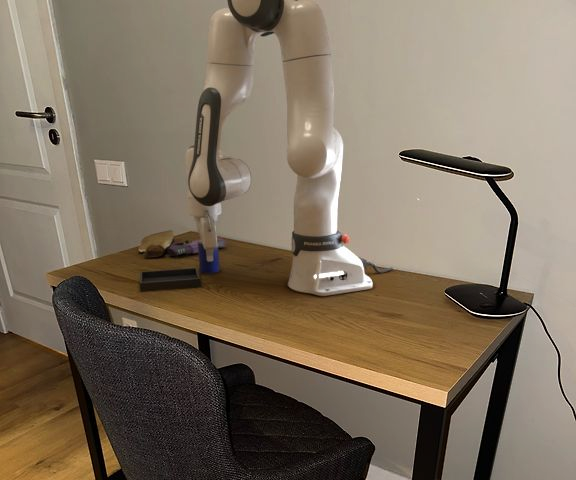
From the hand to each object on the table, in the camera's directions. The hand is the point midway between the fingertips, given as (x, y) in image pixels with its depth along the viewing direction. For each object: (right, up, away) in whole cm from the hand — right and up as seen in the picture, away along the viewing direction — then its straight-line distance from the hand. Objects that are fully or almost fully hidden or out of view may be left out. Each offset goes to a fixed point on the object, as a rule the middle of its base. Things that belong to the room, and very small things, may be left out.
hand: (208, 257), depth 163 cm
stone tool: (-20, +8, +25) cm, 33 cm away
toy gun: (-8, +7, +22) cm, 24 cm away
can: (0, -4, +2) cm, 4 cm away
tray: (-9, -9, -7) cm, 15 cm away
